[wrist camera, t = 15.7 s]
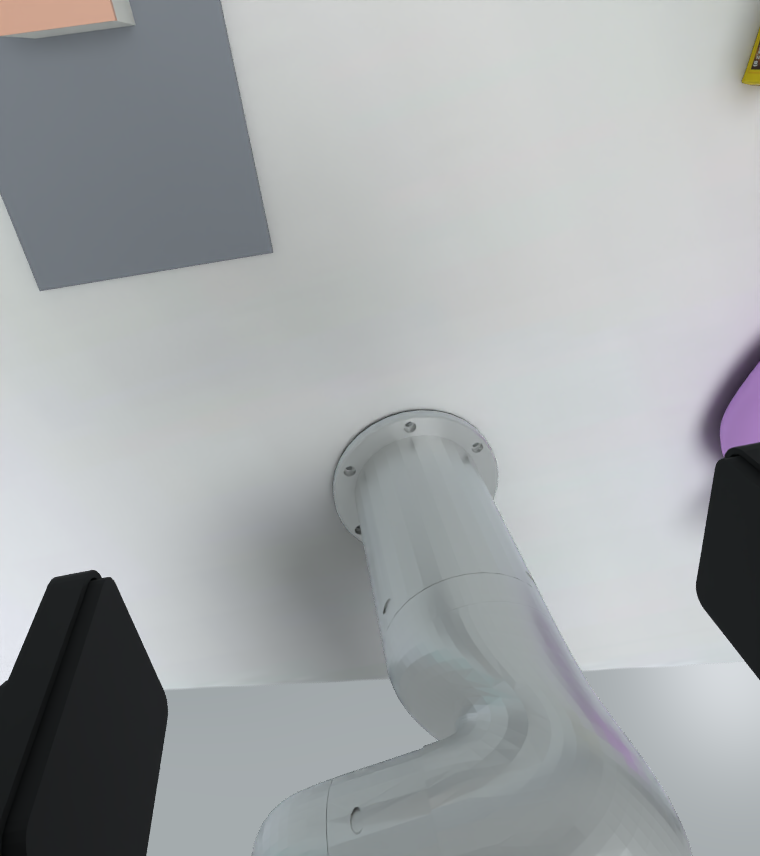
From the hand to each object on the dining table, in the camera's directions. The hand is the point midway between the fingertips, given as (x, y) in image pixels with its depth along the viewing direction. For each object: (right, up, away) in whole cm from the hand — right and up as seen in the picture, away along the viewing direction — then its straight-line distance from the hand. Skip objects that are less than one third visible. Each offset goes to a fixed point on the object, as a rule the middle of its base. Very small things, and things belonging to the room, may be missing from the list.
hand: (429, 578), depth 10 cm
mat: (-16, +22, +23) cm, 36 cm away
